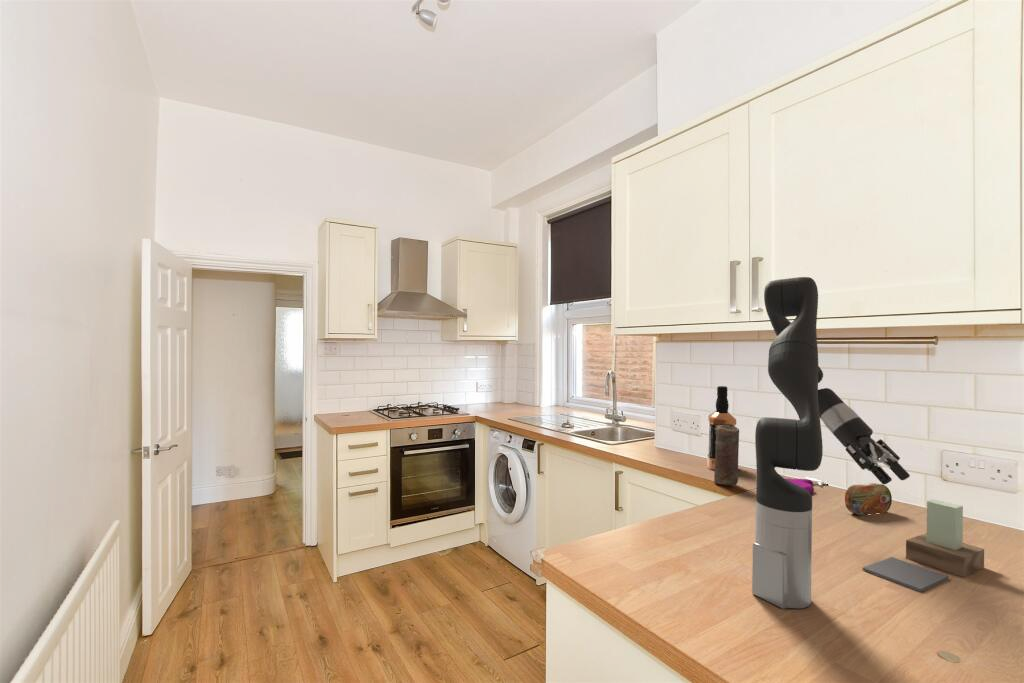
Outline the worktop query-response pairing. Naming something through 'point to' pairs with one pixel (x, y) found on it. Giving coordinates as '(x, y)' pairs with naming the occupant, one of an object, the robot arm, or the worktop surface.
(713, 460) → the whiskey bottle
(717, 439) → the candle
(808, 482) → the spray bottle
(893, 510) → the worktop surface
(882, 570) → the mat
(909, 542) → the brown rectangular box
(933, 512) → the pale green rectangular block
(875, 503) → the tin
